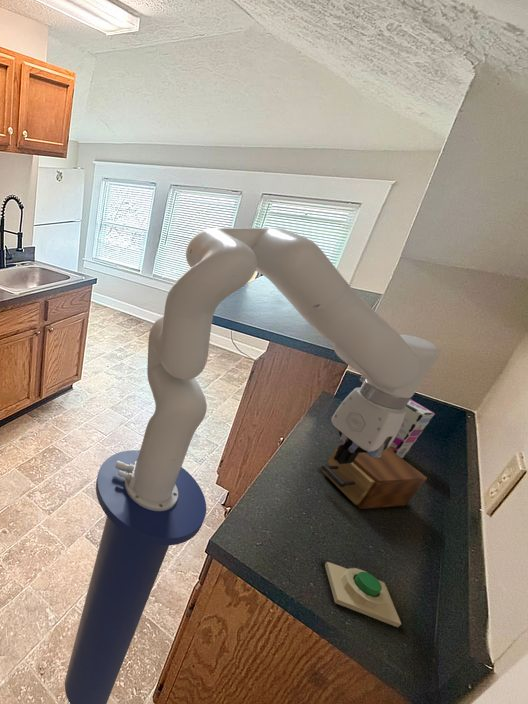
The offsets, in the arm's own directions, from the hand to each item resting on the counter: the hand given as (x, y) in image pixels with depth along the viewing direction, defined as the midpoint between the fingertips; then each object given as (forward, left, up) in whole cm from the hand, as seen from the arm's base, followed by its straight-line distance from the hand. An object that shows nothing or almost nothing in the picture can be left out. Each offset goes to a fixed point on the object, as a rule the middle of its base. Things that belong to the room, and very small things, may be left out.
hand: (341, 460), depth 85 cm
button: (+3, -21, -12) cm, 24 cm away
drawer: (+10, +10, -13) cm, 19 cm away
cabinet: (+13, +12, -14) cm, 23 cm away
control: (+3, -21, -14) cm, 26 cm away
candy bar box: (+24, +35, -14) cm, 45 cm away
